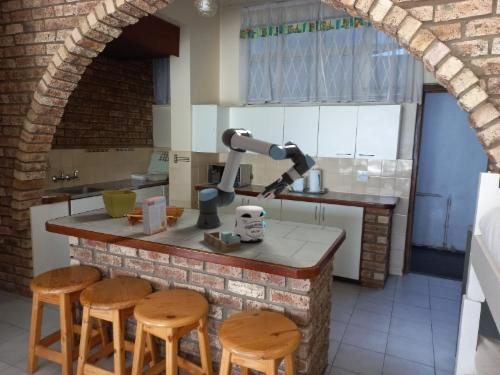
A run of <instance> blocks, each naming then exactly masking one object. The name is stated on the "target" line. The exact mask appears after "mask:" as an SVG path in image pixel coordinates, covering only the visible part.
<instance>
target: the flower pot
mask: <svg viewBox="0 0 500 375" xmlns="http://www.w3.org/2000/svg"><path fill="white" fill-rule="evenodd" d="M137 195H138V193H137V192H135V191H133V190H130V189H119V190H107V191H101V197H102V201H103V205H104V207H105V210H106V213H107V215H108V216H110V217H111V216H112V218H113V219H115V218H116V217H117V218H124V217H123V216H124V215H125V214H128V213H130V212H132V211H133V212H134V210H135V207H136V203H137V198H138V197H137ZM117 218H116V219H117Z"/></svg>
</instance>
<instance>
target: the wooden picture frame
mask: <svg viewBox="0 0 500 375" xmlns="http://www.w3.org/2000/svg"><path fill="white" fill-rule="evenodd" d="M203 241H205V242H206V243H208V244H210V245H212V246H213V247H215V249H218V250H220V251H222V253H229V252H234V251H238V250H241V242H240V243H239V242H238V243H233V244H229V243H228V244H227V242H224V241H222V240H221V239H220V231H215V232H208V231H204V232H203Z"/></svg>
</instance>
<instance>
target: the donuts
mask: <svg viewBox="0 0 500 375" xmlns="http://www.w3.org/2000/svg"><path fill="white" fill-rule="evenodd" d="M266 215H267V213H266V211H265V210H263V218H265V217H266ZM263 225H264V228H265V227H266V225H267V222H265V221H264V220H263Z"/></svg>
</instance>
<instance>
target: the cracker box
mask: <svg viewBox="0 0 500 375" xmlns="http://www.w3.org/2000/svg"><path fill="white" fill-rule="evenodd" d="M166 206H167V204H166V196H161V195H159V196H154V197H148V198H145V199H141V211H142V212H141V213H142V231H143V235H147V236H152V235H156V234H158V233H161V232H165V231H167V225H168V224H167V207H166Z"/></svg>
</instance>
